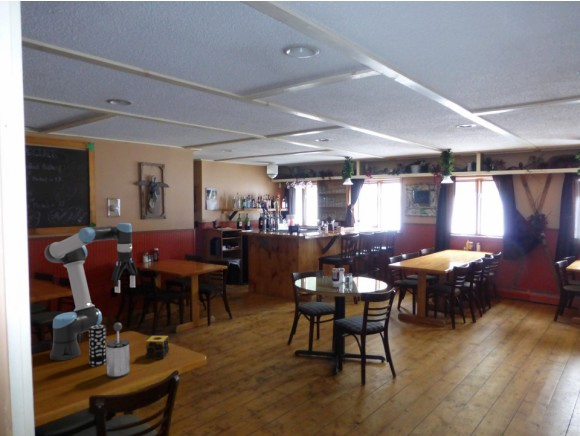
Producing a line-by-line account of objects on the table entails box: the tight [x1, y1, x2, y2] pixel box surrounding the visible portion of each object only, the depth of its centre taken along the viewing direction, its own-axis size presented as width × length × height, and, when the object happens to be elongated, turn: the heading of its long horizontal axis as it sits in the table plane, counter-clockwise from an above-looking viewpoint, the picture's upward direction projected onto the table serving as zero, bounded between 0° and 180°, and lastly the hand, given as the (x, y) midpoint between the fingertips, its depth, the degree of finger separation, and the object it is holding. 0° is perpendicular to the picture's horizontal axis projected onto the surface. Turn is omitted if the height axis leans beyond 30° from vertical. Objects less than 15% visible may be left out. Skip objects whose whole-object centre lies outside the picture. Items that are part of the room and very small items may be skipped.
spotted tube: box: [88, 323, 107, 367], centre depth 226 cm, size 8×8×20 cm
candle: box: [145, 335, 170, 360], centre depth 238 cm, size 10×10×10 cm
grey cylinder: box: [106, 338, 130, 379], centre depth 215 cm, size 10×13×16 cm
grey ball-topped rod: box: [113, 322, 123, 343], centre depth 213 cm, size 8×8×24 cm
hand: (125, 289), depth 231 cm, fingers open, 13 cm apart
